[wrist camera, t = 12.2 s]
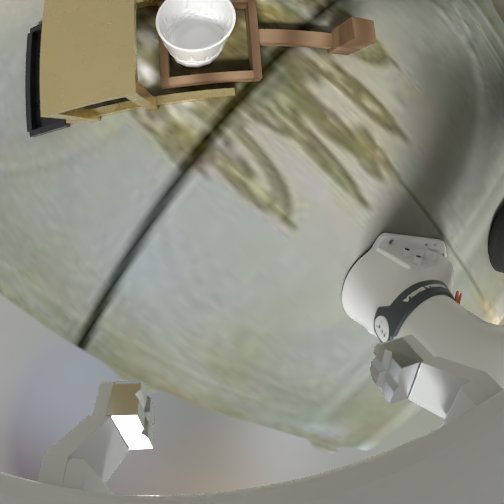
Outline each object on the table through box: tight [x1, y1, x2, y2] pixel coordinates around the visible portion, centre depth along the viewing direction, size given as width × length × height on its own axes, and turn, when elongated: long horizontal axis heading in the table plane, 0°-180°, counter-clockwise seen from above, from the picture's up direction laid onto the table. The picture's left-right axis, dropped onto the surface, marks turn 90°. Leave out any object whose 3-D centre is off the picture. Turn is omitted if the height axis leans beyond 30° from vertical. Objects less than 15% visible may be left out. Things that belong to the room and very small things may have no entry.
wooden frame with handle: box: [158, 0, 376, 90], centre depth 29 cm, size 25×12×8 cm, turn 94°
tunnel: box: [26, 0, 235, 137], centre depth 24 cm, size 28×17×15 cm, turn 94°
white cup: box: [156, 0, 236, 68], centre depth 28 cm, size 8×8×10 cm
